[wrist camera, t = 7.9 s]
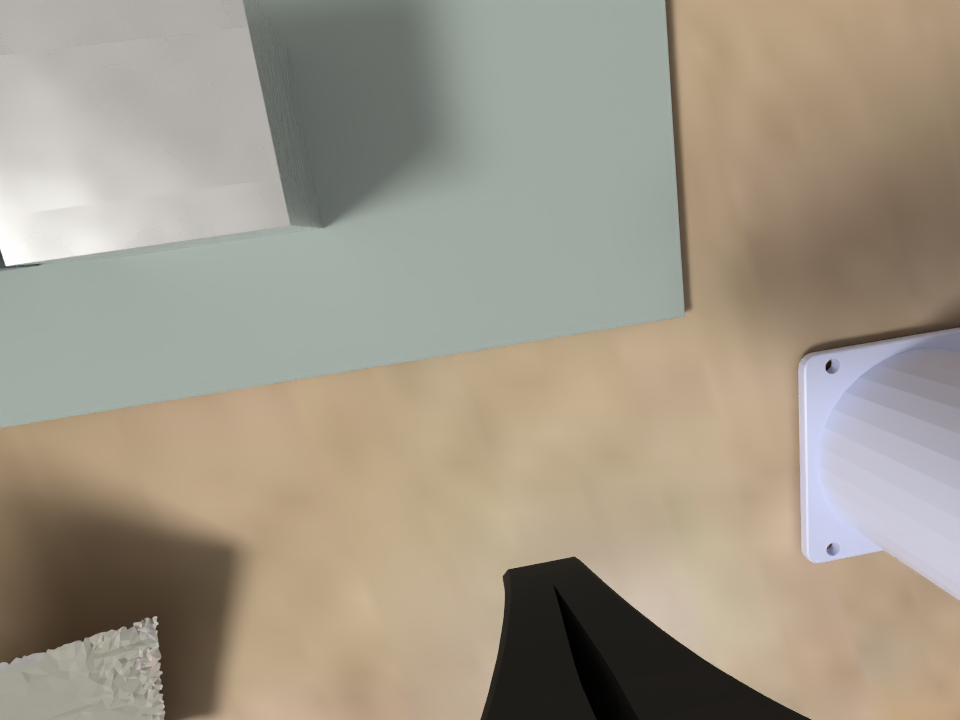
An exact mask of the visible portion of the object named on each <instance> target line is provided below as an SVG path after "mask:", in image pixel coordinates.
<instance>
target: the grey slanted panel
mask: <svg viewBox="0 0 960 720" xmlns="http://www.w3.org/2000/svg"><path fill="white" fill-rule="evenodd" d="M156 620H157V617H156V616H154V617H153V618H152V619H151V618H148V617H147V618H144V619H142V620H141V621H140V622H135V623H133V625H134V626H133V627H131V628H129V629H127V628H126V627H123V626H122V627H121V628H120V629H119V630H116V631H115V630H110V631H108V632H101V633H98V634H95V635H93V636H91V637H89V638H85V639H84V641H83V642H82V641H81V640H78V641H74V642H72V643H69V644H64V645H63V646H61V647H57V648H56V649H54V650H50V649H47V652H46V653H43V652H42V653H33V654H31V655H29V656H25V655H24V656H23V657H22V658H15V659H14V660H13V661H12V662H11V663H10V665H9V664H8V663H7V662H2V663H0V720H164V716H165V711H164V710H163V709H164V707H165V705H164V704H163V703H164V701H163V700H162V697H163V694H159V690H162V688H163V685H161V679H160V675H161V674H162V671H159V670H160V664H161V663H159V662H157V661H159V660H160V659H161V653H160V651H159V649H158V648H159V642H158V637H157V632H158V630H156V631H155V629H156V626H157V625H159V624H158V622H157V621H156Z"/></svg>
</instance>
